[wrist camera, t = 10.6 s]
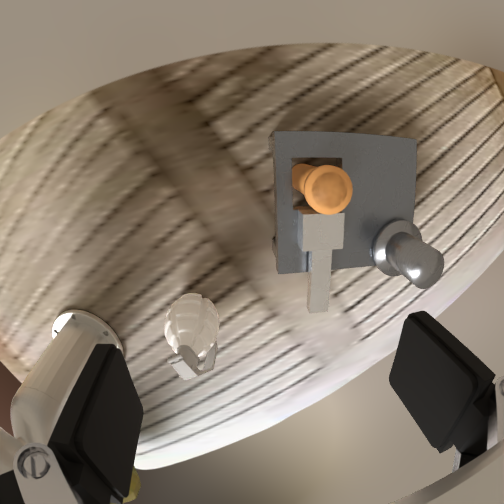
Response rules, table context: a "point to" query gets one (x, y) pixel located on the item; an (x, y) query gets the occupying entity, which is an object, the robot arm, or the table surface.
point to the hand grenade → (192, 334)
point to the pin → (323, 187)
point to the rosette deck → (351, 212)
